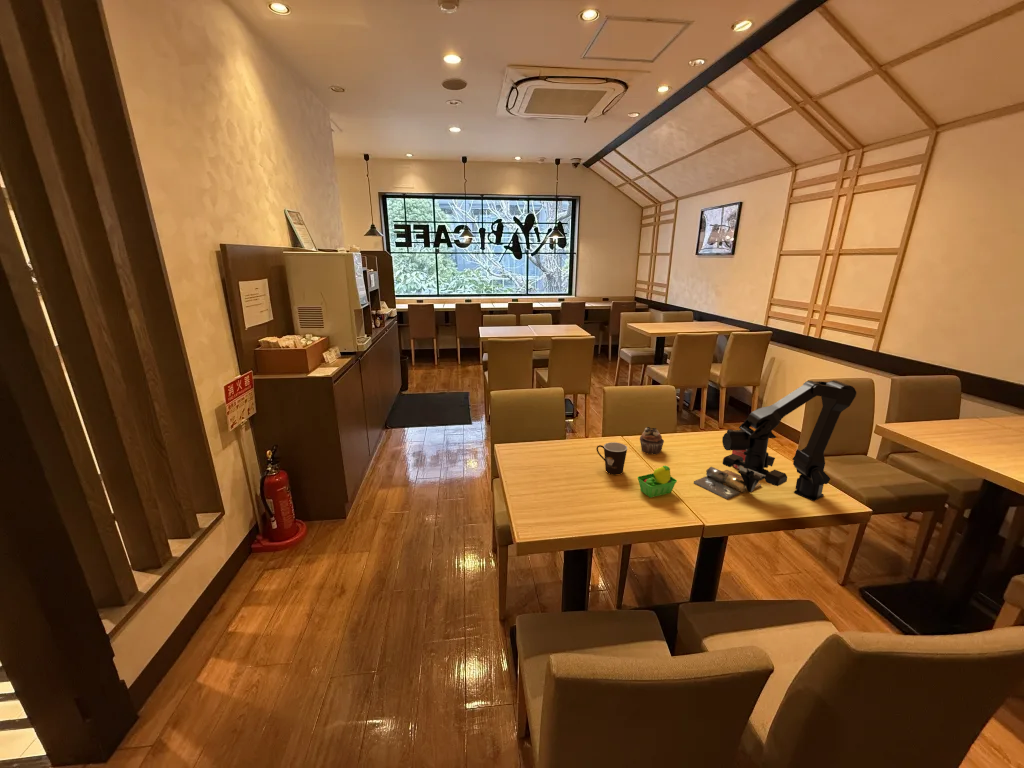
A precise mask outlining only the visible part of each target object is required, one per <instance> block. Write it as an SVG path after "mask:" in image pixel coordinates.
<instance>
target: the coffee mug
mask: <svg viewBox="0 0 1024 768" xmlns="http://www.w3.org/2000/svg"><path fill="white" fill-rule="evenodd" d="M599 448H602V449H603V454H604V456H602V454H601V452H600V451H599ZM595 450H596V452H597V454H598V455H599V457H600V458H601V459H602V460H603V461H604V466H605V467H604V468H605V472H606V471H607V472H608V473H610V474H609V475H611V474H620V475H622V474H623V473H622V472H624V467H625V461H626V458H627V452H628V446H627V445H626V444H623V443H621V442H616V441H614V442H613V441H612V442H606V443H605V444H604V445H601V444H599V445H597V446H596V449H595ZM607 472H606V473H607ZM608 473H607V474H608ZM621 473H622V474H621Z"/></svg>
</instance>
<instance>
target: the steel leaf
mask: <svg viewBox="0 0 1024 768" xmlns="http://www.w3.org/2000/svg"><path fill="white" fill-rule="evenodd" d="M723 471H724V470H720V469H719V468H715V467H713V466H710V467H708V468H707V469H706V474H705V475H706V476H703V477H701V478H698V479H696V480H693V484H695V485H697V486H698V487H701V488H703V489H705V490H706V491H709V492H711V493H713V494H715V495H717V496H719V497H721V498H723V499H726V500H729V499H732V498H734V497H736V496H738V495H740V494H741V492H740V491H738V490H736V489H734V488H732V487H729V486H727V485H726V483H725V482H726V478H727V477H728V474H727V473H725V472H723Z"/></svg>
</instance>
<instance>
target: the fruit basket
mask: <svg viewBox="0 0 1024 768" xmlns="http://www.w3.org/2000/svg"><path fill="white" fill-rule="evenodd" d="M637 480H638V483H639V488H640V492H641V493H643V494H644V495H646V496H648V498H654V497H659V496H664V495H666V494H671V493H672V491H673V489H674V487H675V485H676V483H677V481H678V480H677V479H676V478H674V477H673V476H671V468H670V467H669V465H662V466H660V467H658V468H655V469H654V470H653V473H648V474H644V475H639V476H637Z"/></svg>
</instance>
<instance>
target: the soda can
mask: <svg viewBox="0 0 1024 768" xmlns="http://www.w3.org/2000/svg"><path fill="white" fill-rule="evenodd" d="M731 451H732V452H731V454H735V455H738V456H740V457H742V458H743V462H745V456H746V455H744V451H746V450H731ZM732 467H733V468H734V469H737V470H740V467H739V466H738V465H735V464H734V465H733V466H732Z"/></svg>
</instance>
